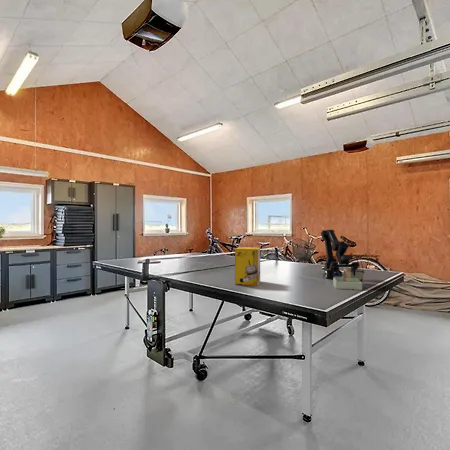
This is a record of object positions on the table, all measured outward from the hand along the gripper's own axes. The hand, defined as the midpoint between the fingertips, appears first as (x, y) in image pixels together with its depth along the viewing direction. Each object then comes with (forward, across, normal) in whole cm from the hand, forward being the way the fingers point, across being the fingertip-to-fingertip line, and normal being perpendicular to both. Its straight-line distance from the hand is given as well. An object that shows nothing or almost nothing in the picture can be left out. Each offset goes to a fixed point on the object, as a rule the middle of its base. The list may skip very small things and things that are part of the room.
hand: (347, 275), depth 199 cm
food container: (-4, +11, +16) cm, 19 cm away
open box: (+4, 0, +6) cm, 8 cm away
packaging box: (-5, -66, +16) cm, 68 cm away
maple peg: (+4, 0, +6) cm, 8 cm away
